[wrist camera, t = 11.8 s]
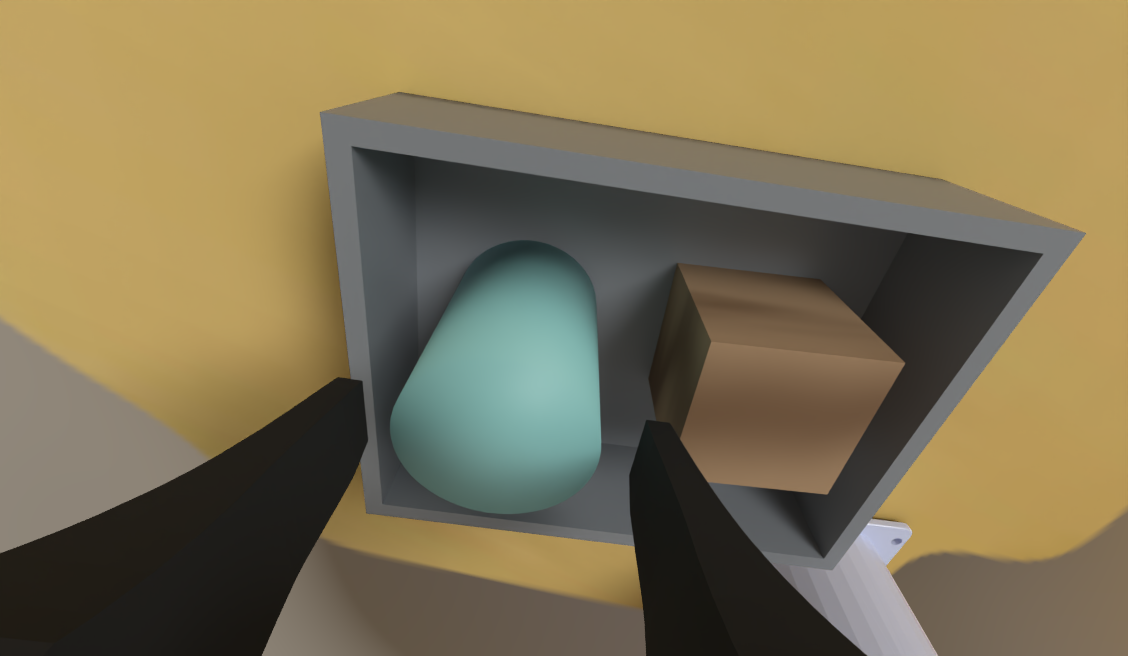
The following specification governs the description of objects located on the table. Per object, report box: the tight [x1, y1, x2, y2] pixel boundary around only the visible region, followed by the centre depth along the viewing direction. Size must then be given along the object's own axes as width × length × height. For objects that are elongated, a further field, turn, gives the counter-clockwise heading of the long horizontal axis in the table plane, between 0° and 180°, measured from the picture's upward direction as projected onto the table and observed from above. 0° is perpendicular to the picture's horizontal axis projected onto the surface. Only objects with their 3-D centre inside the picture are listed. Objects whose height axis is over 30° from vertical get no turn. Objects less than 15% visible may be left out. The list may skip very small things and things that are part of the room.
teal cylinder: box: [390, 240, 601, 514], centre depth 14 cm, size 5×5×7 cm
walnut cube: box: [648, 263, 905, 494], centre depth 15 cm, size 5×5×5 cm
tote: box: [320, 92, 1086, 570], centre depth 16 cm, size 13×17×5 cm
